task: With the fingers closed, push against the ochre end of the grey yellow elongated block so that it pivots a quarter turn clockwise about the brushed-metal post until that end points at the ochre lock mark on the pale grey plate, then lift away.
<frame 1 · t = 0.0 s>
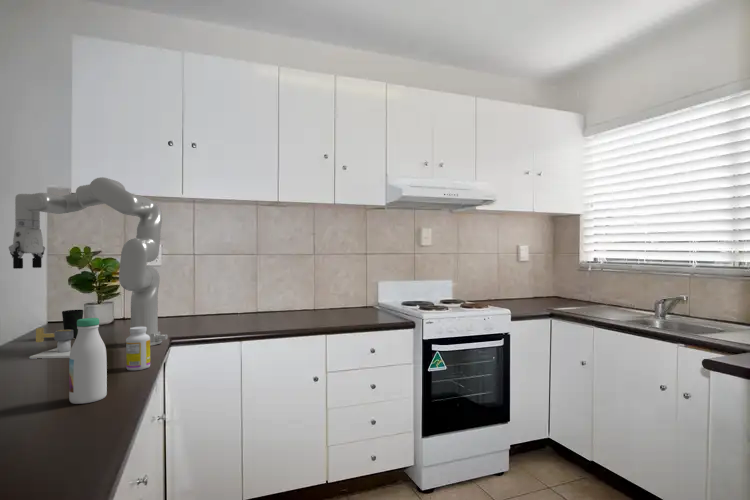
hand: (27, 268, 167), 31 cm above the countertop, tool pointing down, fingers open, 9 cm apart
supplement bottle: (138, 368, 133), on the countertop
milk bottle: (88, 400, 104), on the countertop
cup: (72, 338, 183), on the countertop
grey yellow elongated block: (54, 334, 154), point 7 cm above the countertop, hinge at 0.0°
base plate: (64, 353, 154), on the countertop
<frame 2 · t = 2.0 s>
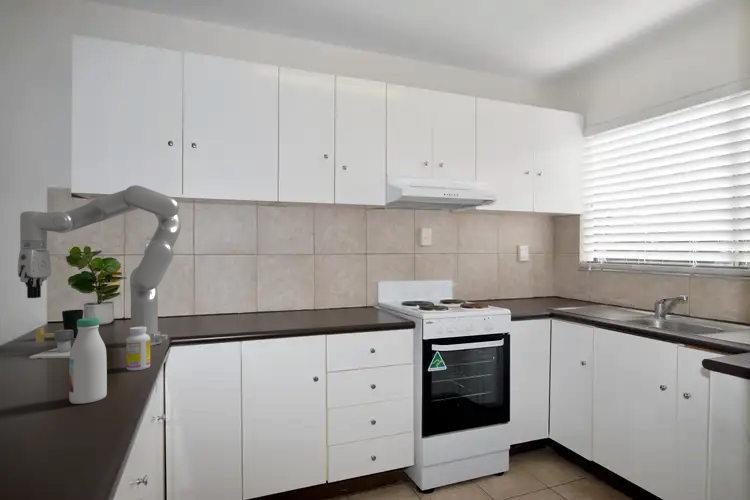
hand: (34, 297, 149), 21 cm above the countertop, tool pointing down, fingers closed
nothing on the countertop moved.
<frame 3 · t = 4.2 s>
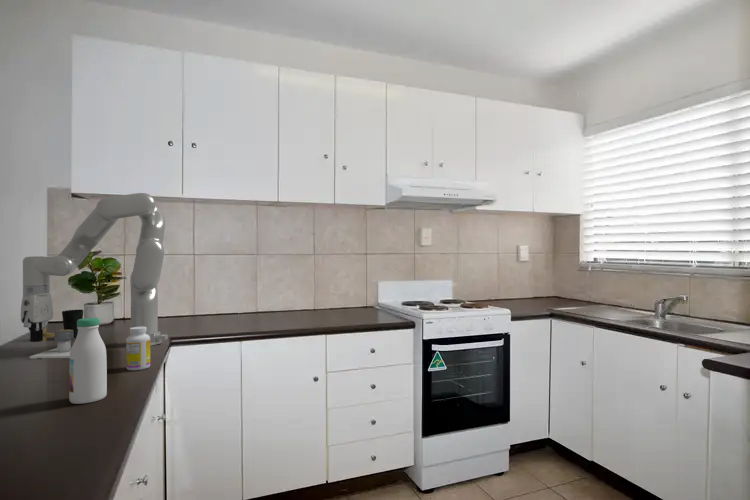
hand: (36, 341, 151), 5 cm above the countertop, tool pointing down, fingers closed
grey yellow elongated block: (55, 334, 154), point 7 cm above the countertop, hinge at 7.9°, touching gripper
everything else where it was.
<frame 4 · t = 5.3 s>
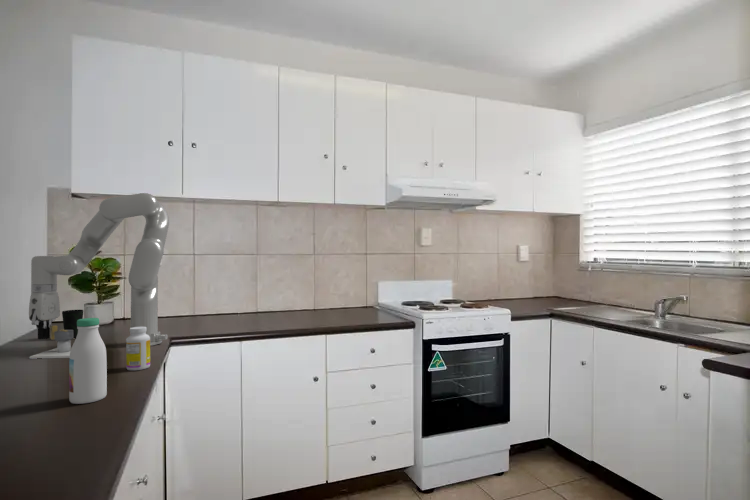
hand: (43, 338, 155), 5 cm above the countertop, tool pointing down, fingers closed
grey yellow elongated block: (60, 333, 156), point 7 cm above the countertop, hinge at 35.8°, touching gripper
everything else where it was.
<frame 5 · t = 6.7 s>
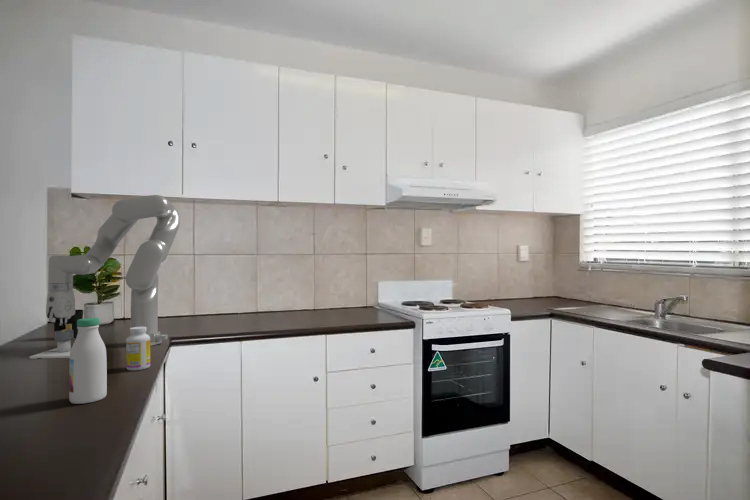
hand: (59, 335, 160), 5 cm above the countertop, tool pointing down, fingers closed
grey yellow elongated block: (65, 333, 157), point 7 cm above the countertop, hinge at 66.5°, touching gripper
everything else where it was.
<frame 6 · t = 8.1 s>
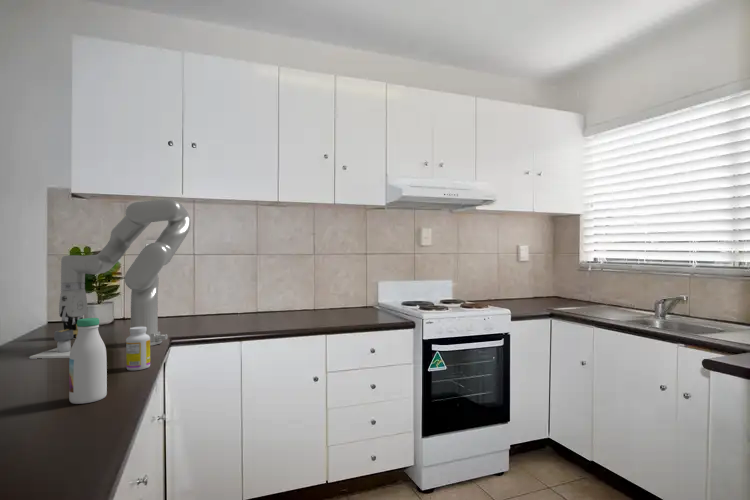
hand: (72, 334, 162), 5 cm above the countertop, tool pointing down, fingers closed
grey yellow elongated block: (70, 332, 157), point 7 cm above the countertop, hinge at 90.8°, touching gripper
everything else where it was.
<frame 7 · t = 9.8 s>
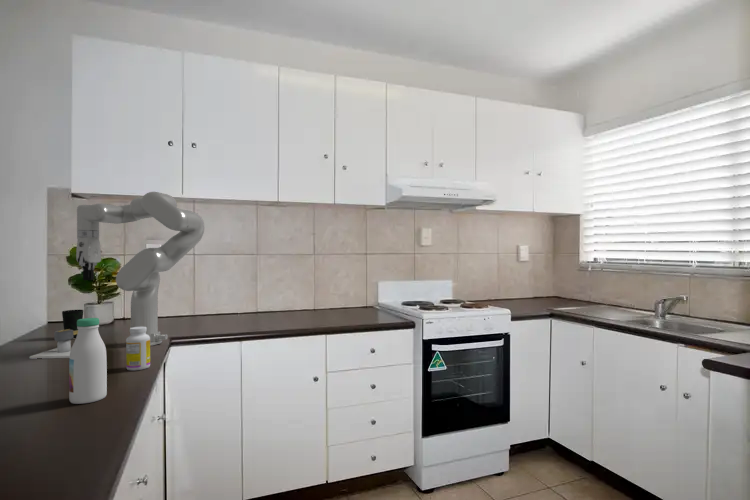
hand: (88, 279, 172), 26 cm above the countertop, tool pointing down, fingers closed
grey yellow elongated block: (71, 332, 157), point 7 cm above the countertop, hinge at 101.8°
everything else where it was.
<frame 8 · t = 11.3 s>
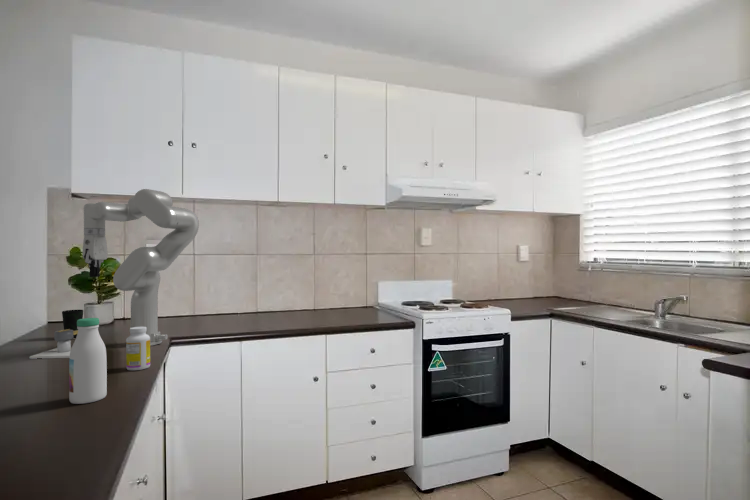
hand: (94, 276, 176), 27 cm above the countertop, tool pointing down, fingers closed
nothing on the countertop moved.
at the end: grey yellow elongated block at +102° (first picture: +0°); the gripper is holding nothing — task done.
